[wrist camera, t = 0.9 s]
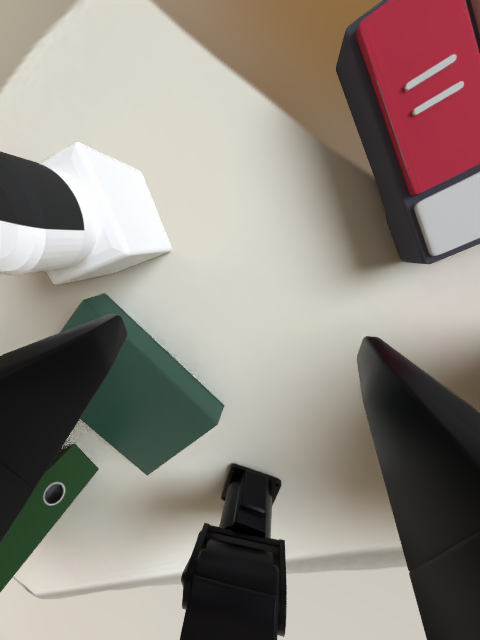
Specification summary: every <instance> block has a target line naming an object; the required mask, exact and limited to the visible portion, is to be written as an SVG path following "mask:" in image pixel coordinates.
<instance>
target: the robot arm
mask: <svg viewBox="0 0 480 640" xmlns="http://www.w3.org/2000/svg"><path fill="white" fill-rule="evenodd" d="M127 334H128V333H127V329H126V326H125V323H124V320H123V318H122V316H121V315H118V314H108V315H106V316H103V317H100V318H98V319H95V320H93V321H90V322H87V323H85V324H82V325H79V326H77V327H74V328H72V329H69V330H66V331H64V332H61V333H59V334H56V335H53V336H51V337H48V338H45V339H43V340H40V341H38V342H35V343H32V344H30V345H27V346H25V347H22V348H19V349H17V350H14V351H11V352H9V353H6V354H4V355H2V356H0V543H1V542H2V540H3V539H4V537H5V536H6V534H7V532H8V531H9V529H10V528H11V526H12V524H13V523H14V521H15V520H16V518H17V517H18V515H19V513H20V512H21V510H22V509H23V507H24V506H25V504H26V502H27V501H28V499H29V498H30V496H31V495H32V493H33V491H34V489H35V488H36V486H37V485H38V483H39V482H40V480H41V478H42V477H43V475H44V474H45V472H46V471H47V469H48V467H49V466H50V464H51V463H52V461H53V460H54V458H55V456H56V455H57V453H58V452H59V450H60V449H61V447H62V445H63V444H64V442H65V441H66V439H67V438H68V436H69V434H70V433H71V431H72V430H73V428H74V427H75V425H76V423H77V422H78V420H79V419H80V417H81V416H82V414H83V412H84V411H85V409H86V408H87V406H88V405H89V403H90V401H91V400H92V398H93V397H94V395H95V394H96V392H97V390H98V389H99V387H100V386H101V384H102V383H103V381H104V379H105V378H106V376H107V375H108V373H109V371H110V370H111V368H112V366H113V364H114V362H115V360H116V358H117V356H118V354H119V352H120V350H121V348H122V346H123V344H124V342H125V340H126V338H127ZM357 364H358V371H359V378H360V385H361V392H362V399H363V403H364V408H365V411H366V415H367V419H368V422H369V426H370V430H371V433H372V437H373V441H374V445H375V448H376V452H377V456H378V459H379V463H380V467H381V470H382V474H383V478H384V482H385V485H386V489H387V493H388V496H389V500H390V504H391V507H392V511H393V515H394V519H395V522H396V526H397V530H398V533H399V537H400V541H401V544H402V548H403V552H404V556H405V559H406V563H407V567H408V570H409V571H410V573H409V575H410V578H411V582H412V585H413V590H414V593H415V597H416V601H417V604H418V608H419V612H420V615H421V619H422V623H423V626H424V630H425V634H426V638H427V640H480V412H478V411H477V410H476V409H474V408H473V407H472V406H470V405H469V404H467V403H466V402H465V401H463V400H462V399H461V398H459V397H458V396H457V395H455V394H454V393H453V392H451V391H450V390H449V389H447V388H446V387H445V386H443V385H442V384H441V383H439V382H438V381H436V380H435V379H434V378H432V377H431V376H430V375H428V374H427V373H426V372H424V371H423V370H422V369H420V368H419V367H418V366H416V365H415V364H414V363H412V362H411V361H410V360H408V359H407V358H405V357H404V356H403V355H401V354H400V353H399V352H397V351H396V350H395V349H393V348H392V347H391V346H389V345H388V344H387V343H385V342H384V341H383V340H381V339H380V338H378V337H369V336H366V337H364V339H363V341H362V343H361V346H360V349H359V352H358V355H357ZM280 487H281V480H279V479H277V478H274V477H271V476H268V475H265V474H262V473H260V472H257V471H254V470H251V469H248V468H245V467H242V466H239V465H236V464H232V465H231V467H230V471H229V474H228V477H227V480H226V483H225V486H224V489H223V492H222V496H221V499H222V500H224V501H225V503H224V507H223V512H222V516H221V521H220V525H219V527H217V526H212V525H209V524H208V523H204V526H203V529H202V531H200V533H199V535H198V538H197V542H196V544H195V547H194V550H193V553H192V555H191V557H190V559H189V561H188V563H187V565H186V567H185V569H184V571H183V574H182V578H181V582H182V585H183V600H182V607H183V609H186V612H185V617H184V622H183V627H182V632H181V637H180V640H277V635H280V636H283V637H284V635H285V627H286V563H285V540H281V539H279V540H276V539H271V515H272V505H273V503H274V500H275V498H276V496H277V494H278V492H279V489H280Z"/></svg>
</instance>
